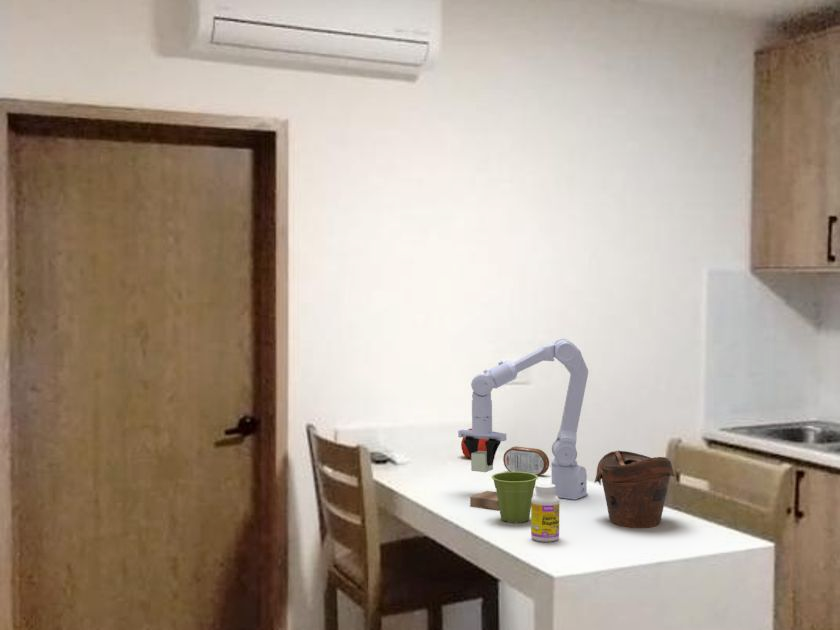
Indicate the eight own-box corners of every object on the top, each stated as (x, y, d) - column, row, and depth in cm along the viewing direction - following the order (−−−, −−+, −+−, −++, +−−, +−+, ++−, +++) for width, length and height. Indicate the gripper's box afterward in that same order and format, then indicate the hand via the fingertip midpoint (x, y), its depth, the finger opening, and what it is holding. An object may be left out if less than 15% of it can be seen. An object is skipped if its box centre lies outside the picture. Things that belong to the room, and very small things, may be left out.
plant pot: (483, 517, 259) (483, 474, 258) (523, 512, 263) (523, 470, 263) (505, 527, 248) (505, 482, 247) (546, 522, 253) (546, 478, 252)
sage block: (492, 469, 284) (492, 452, 284) (485, 472, 281) (485, 454, 280) (479, 468, 287) (479, 450, 287) (471, 470, 283) (471, 453, 283)
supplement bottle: (540, 543, 233) (540, 489, 232) (526, 537, 239) (525, 483, 238) (564, 540, 236) (564, 486, 235) (550, 534, 242) (550, 481, 241)
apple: (459, 460, 337) (459, 429, 337) (463, 454, 348) (463, 424, 347) (491, 461, 335) (491, 429, 335) (494, 455, 346) (494, 424, 346)
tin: (549, 476, 310) (549, 449, 310) (545, 478, 308) (545, 450, 307) (506, 471, 318) (506, 445, 318) (502, 473, 316) (501, 446, 315)
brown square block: (515, 505, 273) (515, 494, 273) (499, 512, 266) (499, 500, 266) (487, 501, 278) (487, 490, 278) (470, 507, 271) (470, 496, 271)
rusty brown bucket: (605, 509, 266) (606, 442, 265) (681, 517, 257) (682, 448, 255) (584, 525, 250) (584, 454, 249) (664, 535, 241) (664, 461, 240)
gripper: (511, 416, 283) (511, 464, 283) (466, 413, 290) (467, 459, 291) (499, 419, 277) (499, 468, 277) (454, 416, 284) (454, 463, 285)
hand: (482, 464), depth 284 cm, fingers closed on sage block, 4 cm apart
